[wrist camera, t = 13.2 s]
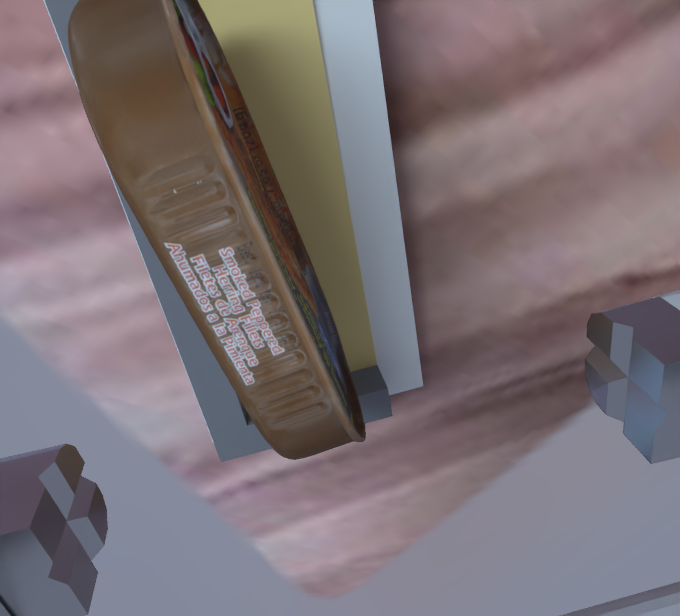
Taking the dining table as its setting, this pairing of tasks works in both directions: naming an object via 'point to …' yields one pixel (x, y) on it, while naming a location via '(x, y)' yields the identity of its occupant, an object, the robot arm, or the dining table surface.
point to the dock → (309, 193)
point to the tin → (215, 214)
